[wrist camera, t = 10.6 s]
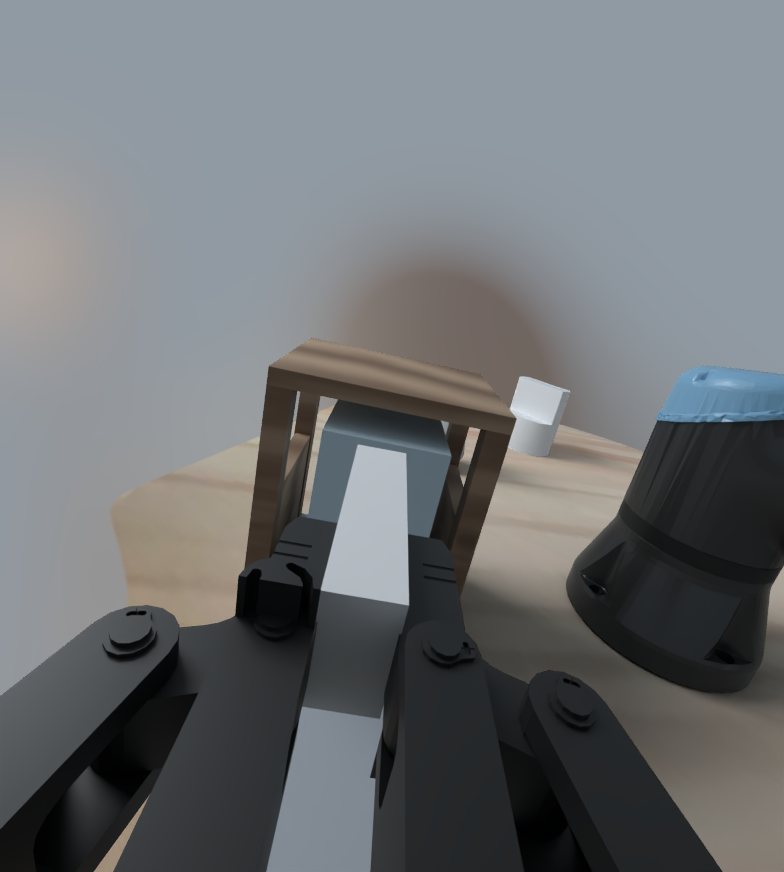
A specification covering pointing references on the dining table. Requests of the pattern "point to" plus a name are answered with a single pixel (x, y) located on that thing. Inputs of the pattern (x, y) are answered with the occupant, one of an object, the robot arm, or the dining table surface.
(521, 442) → the cylinder with rectangular tab
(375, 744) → the runway
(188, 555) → the dining table surface
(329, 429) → the block
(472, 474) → the tunnel
